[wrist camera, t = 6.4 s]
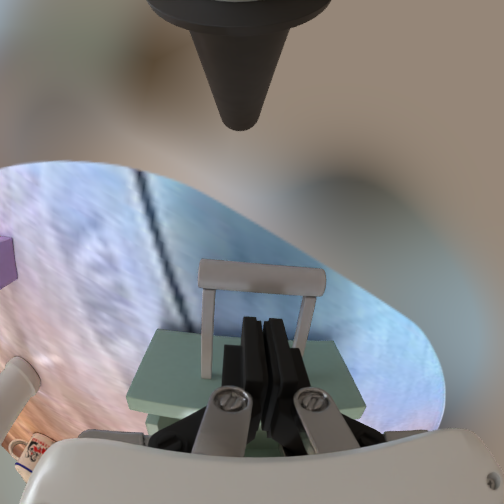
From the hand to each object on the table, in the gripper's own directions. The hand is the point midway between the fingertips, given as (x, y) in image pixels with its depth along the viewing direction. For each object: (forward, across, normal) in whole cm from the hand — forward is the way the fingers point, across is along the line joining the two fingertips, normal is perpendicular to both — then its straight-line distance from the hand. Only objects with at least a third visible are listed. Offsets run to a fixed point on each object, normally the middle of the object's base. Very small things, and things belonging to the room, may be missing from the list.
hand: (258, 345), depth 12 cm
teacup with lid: (+7, +32, +36) cm, 48 cm away
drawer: (+7, 0, +8) cm, 10 cm away
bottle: (+8, +26, +16) cm, 31 cm away
